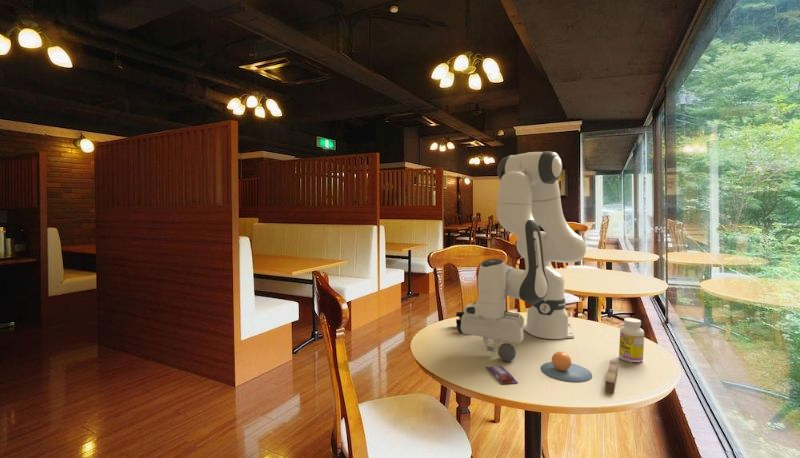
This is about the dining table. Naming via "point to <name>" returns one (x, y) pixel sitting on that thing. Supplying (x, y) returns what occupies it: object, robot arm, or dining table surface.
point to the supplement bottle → (631, 341)
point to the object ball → (561, 361)
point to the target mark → (567, 373)
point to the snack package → (502, 375)
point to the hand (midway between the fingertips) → (490, 351)
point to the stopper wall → (611, 377)
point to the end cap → (459, 321)
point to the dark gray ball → (507, 352)
